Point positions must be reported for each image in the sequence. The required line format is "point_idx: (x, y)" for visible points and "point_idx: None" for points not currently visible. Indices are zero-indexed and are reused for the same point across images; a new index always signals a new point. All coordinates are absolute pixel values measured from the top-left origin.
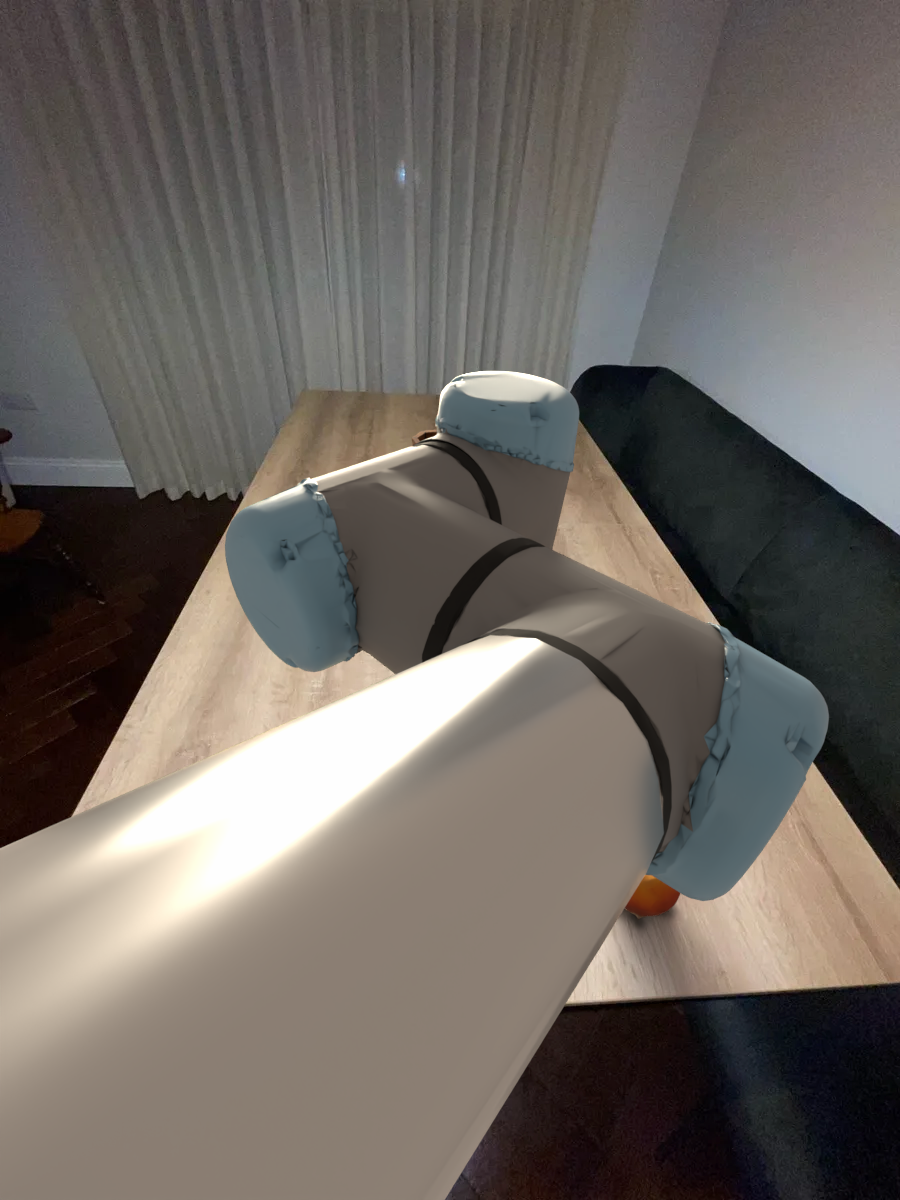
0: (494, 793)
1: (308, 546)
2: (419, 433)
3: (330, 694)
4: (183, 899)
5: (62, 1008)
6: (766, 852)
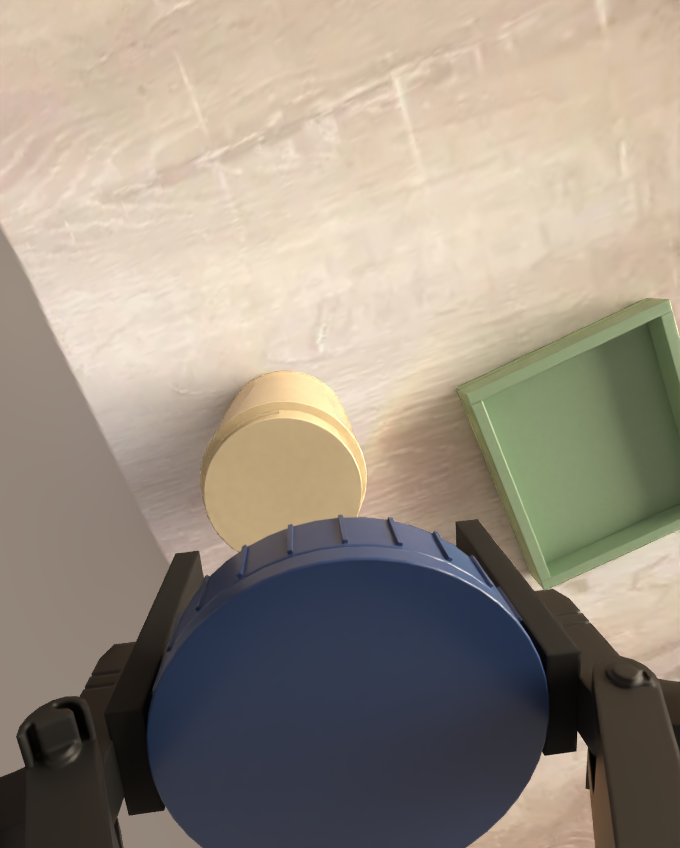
0: None
1: None
2: None
3: (676, 2)
4: None
5: None
6: (481, 840)
